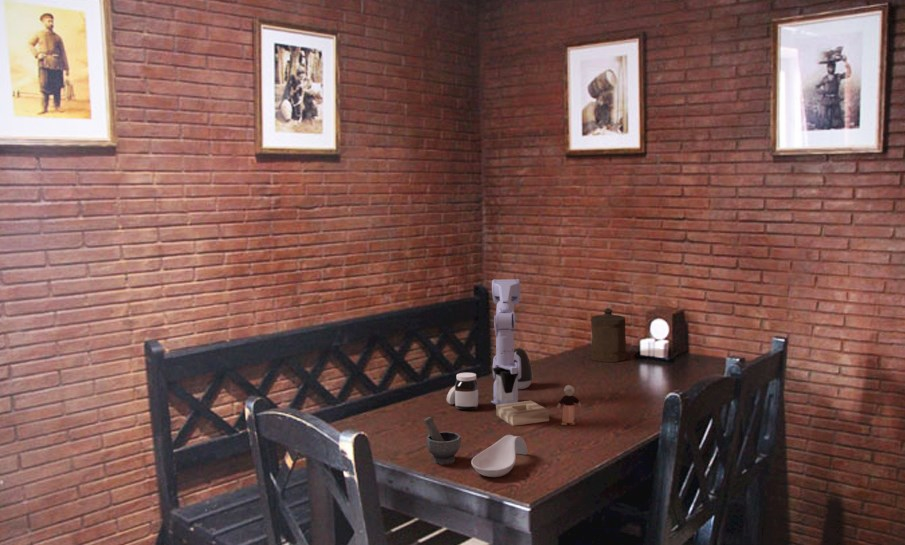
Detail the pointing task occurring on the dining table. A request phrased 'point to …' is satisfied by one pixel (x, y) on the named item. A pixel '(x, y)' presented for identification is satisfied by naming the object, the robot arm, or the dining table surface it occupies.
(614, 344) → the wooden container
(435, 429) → the mortar and pestle
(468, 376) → the spread jar
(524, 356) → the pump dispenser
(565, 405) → the grandmother figurine
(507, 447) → the spoon rest
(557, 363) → the dining table surface
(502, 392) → the steel peg
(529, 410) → the maple hole block
